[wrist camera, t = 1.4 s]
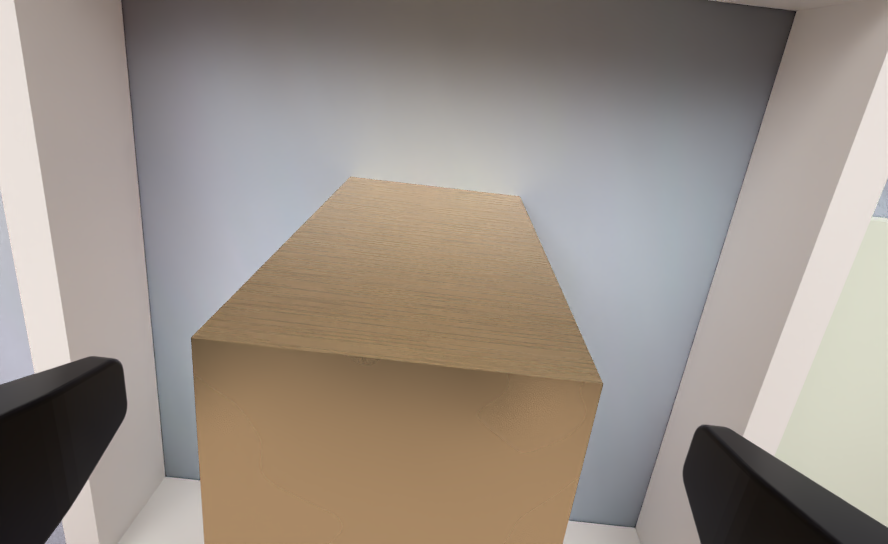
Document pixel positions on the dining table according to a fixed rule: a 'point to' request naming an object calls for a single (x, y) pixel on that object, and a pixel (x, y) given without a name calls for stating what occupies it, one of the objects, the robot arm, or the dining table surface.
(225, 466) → the block
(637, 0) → the dining table surface
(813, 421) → the rubber pad
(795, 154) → the white square frame
